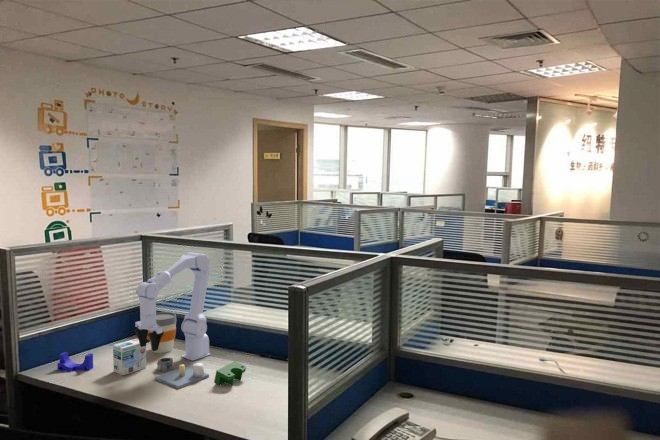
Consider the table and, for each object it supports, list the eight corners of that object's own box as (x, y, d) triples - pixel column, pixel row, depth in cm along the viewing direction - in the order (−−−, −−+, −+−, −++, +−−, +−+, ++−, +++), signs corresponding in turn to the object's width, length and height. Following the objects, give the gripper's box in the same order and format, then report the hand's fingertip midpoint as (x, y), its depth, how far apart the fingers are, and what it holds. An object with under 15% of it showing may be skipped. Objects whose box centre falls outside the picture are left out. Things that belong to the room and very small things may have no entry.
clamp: (228, 397, 190) (226, 380, 185) (215, 390, 192) (213, 373, 188) (248, 375, 199) (247, 359, 194) (235, 369, 201) (234, 352, 197)
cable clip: (57, 371, 202) (57, 356, 202) (64, 366, 207) (64, 352, 206) (86, 372, 201) (86, 357, 201) (93, 368, 206) (92, 353, 205)
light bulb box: (122, 375, 198) (121, 348, 197) (112, 371, 202) (112, 344, 201) (147, 367, 206) (146, 341, 205) (137, 363, 210) (136, 337, 209)
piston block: (185, 368, 206) (185, 356, 206) (208, 376, 198) (208, 364, 197) (154, 379, 195) (154, 366, 194) (178, 388, 186) (178, 375, 186)
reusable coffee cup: (170, 342, 237) (169, 310, 235) (181, 350, 227) (181, 316, 226) (142, 348, 229) (142, 315, 227) (153, 356, 219) (152, 321, 218)
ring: (166, 365, 209) (166, 356, 209) (175, 368, 206) (175, 359, 206) (154, 369, 205) (154, 360, 205) (163, 372, 202) (163, 363, 201)
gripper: (127, 312, 200) (129, 347, 201) (150, 319, 191) (151, 355, 193) (144, 308, 206) (145, 342, 207) (166, 315, 197) (167, 349, 198)
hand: (149, 348), depth 200 cm, fingers open, 7 cm apart
